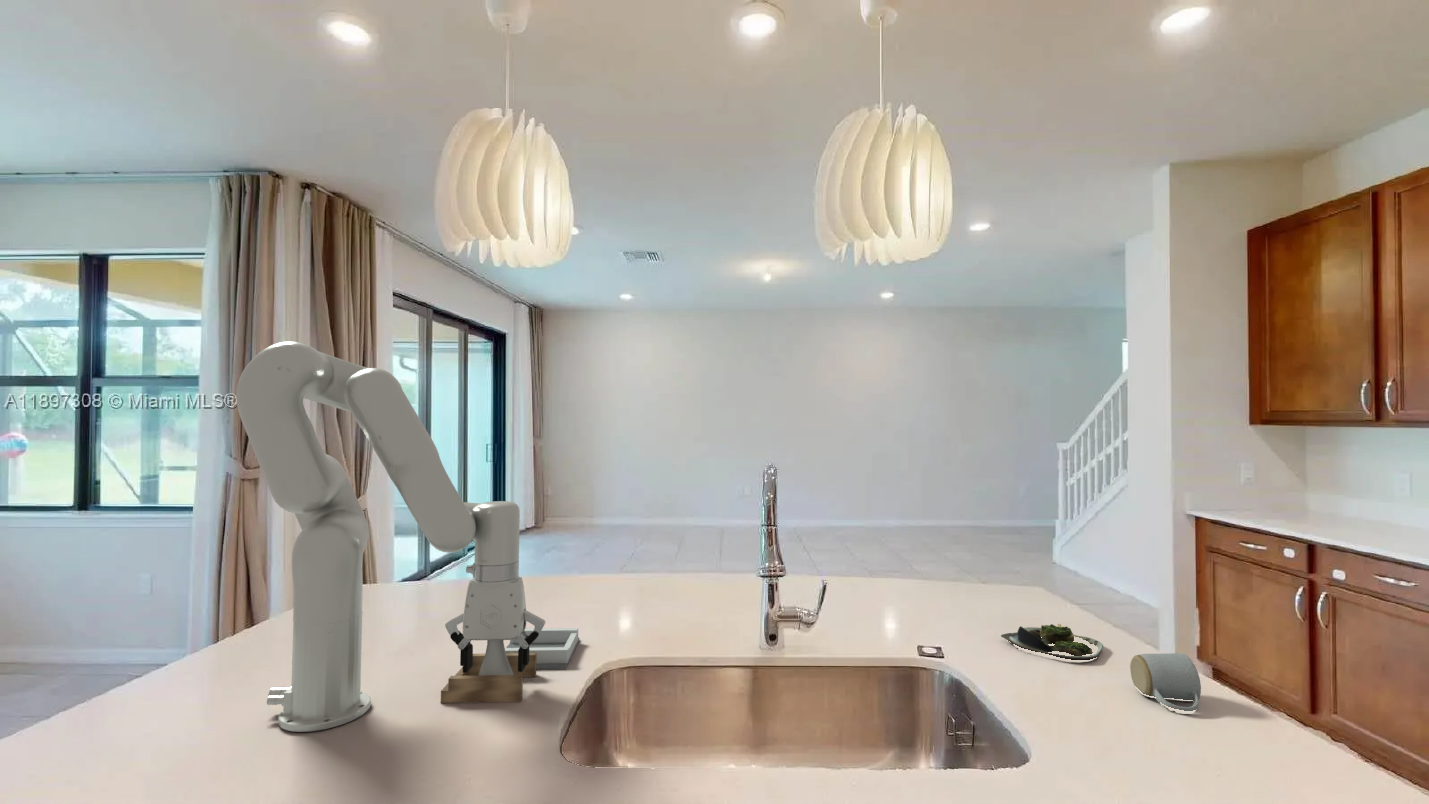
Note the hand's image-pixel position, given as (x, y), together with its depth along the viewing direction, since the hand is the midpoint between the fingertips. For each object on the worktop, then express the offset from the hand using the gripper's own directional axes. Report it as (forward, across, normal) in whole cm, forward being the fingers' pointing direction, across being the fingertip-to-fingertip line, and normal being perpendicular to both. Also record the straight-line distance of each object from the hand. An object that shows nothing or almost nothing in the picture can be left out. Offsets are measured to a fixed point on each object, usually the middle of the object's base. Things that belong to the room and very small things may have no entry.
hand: (494, 669), depth 110 cm
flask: (+4, 0, 0) cm, 4 cm away
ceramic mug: (+4, +117, -10) cm, 117 cm away
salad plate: (+4, +112, +16) cm, 113 cm away
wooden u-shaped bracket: (+3, 0, 0) cm, 3 cm away
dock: (+3, +4, +16) cm, 17 cm away
